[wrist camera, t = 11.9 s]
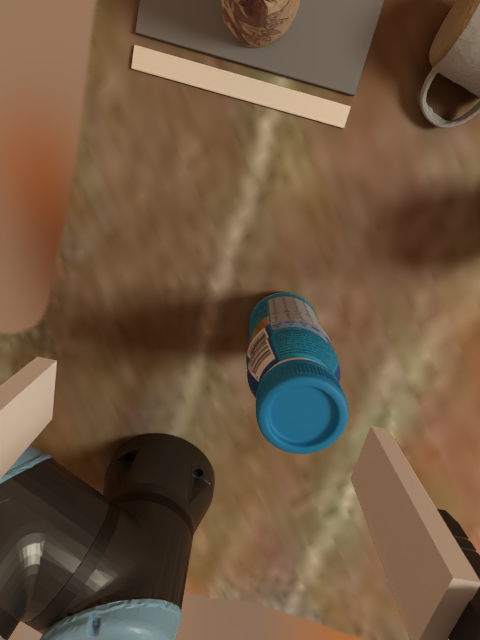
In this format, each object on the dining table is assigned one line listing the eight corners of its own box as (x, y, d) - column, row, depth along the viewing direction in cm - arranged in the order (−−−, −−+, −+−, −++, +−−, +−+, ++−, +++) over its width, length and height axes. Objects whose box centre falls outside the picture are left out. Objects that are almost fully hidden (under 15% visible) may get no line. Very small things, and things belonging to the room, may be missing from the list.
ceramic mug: (454, -12, 35) (505, -61, 28) (530, 29, 36) (598, -9, 29) (394, 109, 39) (425, 93, 31) (463, 143, 39) (510, 135, 32)
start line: (343, 128, 39) (344, 128, 39) (132, 69, 38) (131, 68, 38) (350, 107, 38) (350, 106, 38) (135, 45, 37) (134, 44, 37)
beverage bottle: (307, 280, 44) (347, 350, 26) (325, 344, 47) (373, 450, 28) (238, 301, 46) (228, 383, 27) (259, 362, 48) (263, 476, 29)
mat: (353, 96, 38) (354, 95, 38) (136, 33, 37) (135, 31, 36) (391, -26, 35) (393, -28, 34) (154, -98, 34) (153, -102, 33)
